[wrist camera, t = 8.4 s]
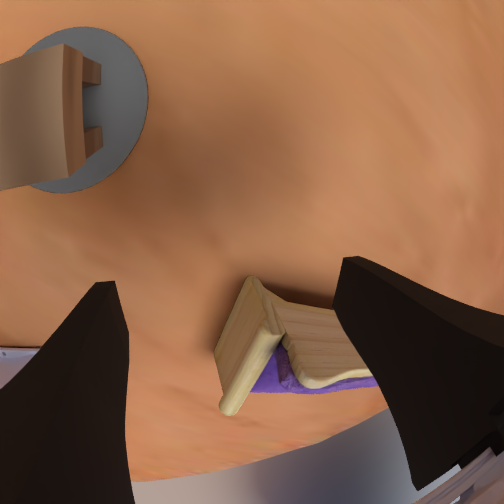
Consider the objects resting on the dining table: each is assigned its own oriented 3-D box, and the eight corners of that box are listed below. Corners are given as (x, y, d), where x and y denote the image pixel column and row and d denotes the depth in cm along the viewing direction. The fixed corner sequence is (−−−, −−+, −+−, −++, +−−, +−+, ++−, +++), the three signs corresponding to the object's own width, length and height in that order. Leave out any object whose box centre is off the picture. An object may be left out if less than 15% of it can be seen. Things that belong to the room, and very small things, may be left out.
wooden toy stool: (30, 161, 13) (-28, 197, 8) (26, 80, 11) (-38, 81, 5) (104, 148, 14) (68, 177, 9) (103, 62, 12) (63, 43, 6)
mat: (11, 200, 14) (7, 203, 14) (1, 53, 9) (-4, 52, 9) (151, 180, 17) (150, 183, 16) (151, 17, 12) (150, 14, 11)
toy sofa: (204, 351, 25) (227, 457, 16) (239, 269, 21) (286, 384, 13) (371, 359, 33) (413, 422, 24) (411, 304, 30) (467, 365, 21)
